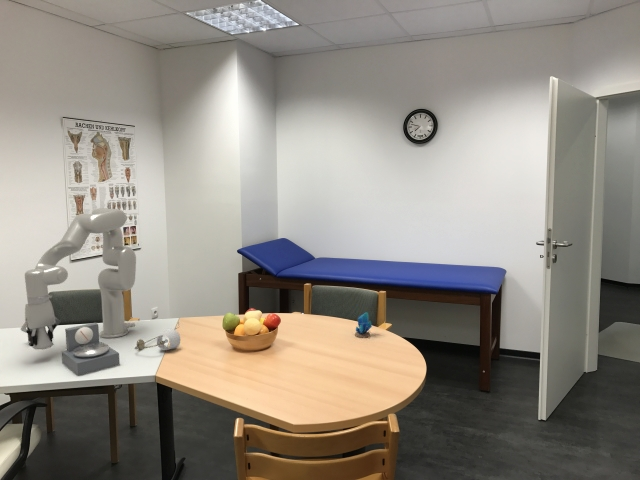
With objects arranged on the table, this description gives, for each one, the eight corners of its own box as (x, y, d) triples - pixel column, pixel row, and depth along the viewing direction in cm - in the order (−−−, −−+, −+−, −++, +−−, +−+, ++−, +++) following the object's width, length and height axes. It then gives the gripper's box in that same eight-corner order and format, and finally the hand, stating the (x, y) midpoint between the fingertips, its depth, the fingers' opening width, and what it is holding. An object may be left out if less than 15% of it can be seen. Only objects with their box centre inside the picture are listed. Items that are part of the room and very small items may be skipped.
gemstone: (374, 335, 242) (374, 310, 240) (363, 339, 235) (363, 314, 234) (361, 331, 247) (362, 307, 245) (350, 336, 240) (350, 311, 239)
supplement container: (45, 343, 230) (44, 323, 228) (32, 346, 225) (31, 327, 224) (38, 340, 233) (37, 321, 232) (25, 344, 228) (24, 324, 227)
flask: (57, 344, 211) (54, 321, 210) (42, 351, 205) (40, 327, 203) (44, 342, 214) (41, 319, 212) (29, 349, 207) (26, 325, 205)
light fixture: (211, 332, 249) (166, 356, 210) (180, 336, 254) (130, 360, 215) (208, 313, 249) (162, 334, 210) (176, 318, 253) (126, 339, 215)
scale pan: (101, 343, 213) (101, 341, 213) (114, 351, 203) (114, 348, 203) (68, 351, 204) (68, 348, 204) (80, 359, 195) (80, 357, 194)
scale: (102, 353, 217) (100, 321, 215) (119, 364, 205) (117, 331, 203) (62, 363, 206) (59, 329, 204) (78, 376, 194) (75, 340, 192)
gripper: (57, 293, 214) (62, 335, 217) (11, 302, 203) (17, 345, 206) (63, 297, 209) (68, 339, 212) (17, 306, 197) (22, 350, 200)
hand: (42, 342), depth 209 cm, fingers closed on flask, 5 cm apart
